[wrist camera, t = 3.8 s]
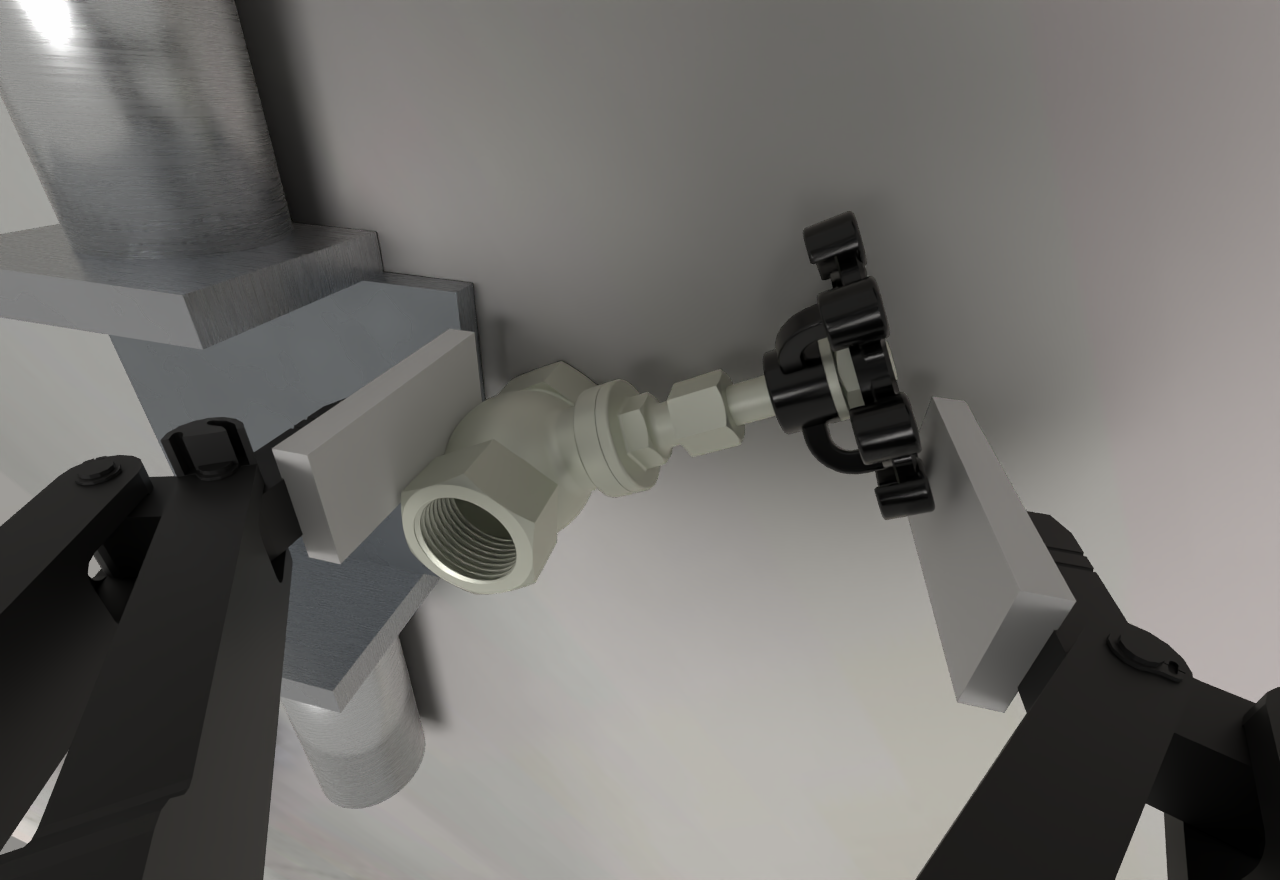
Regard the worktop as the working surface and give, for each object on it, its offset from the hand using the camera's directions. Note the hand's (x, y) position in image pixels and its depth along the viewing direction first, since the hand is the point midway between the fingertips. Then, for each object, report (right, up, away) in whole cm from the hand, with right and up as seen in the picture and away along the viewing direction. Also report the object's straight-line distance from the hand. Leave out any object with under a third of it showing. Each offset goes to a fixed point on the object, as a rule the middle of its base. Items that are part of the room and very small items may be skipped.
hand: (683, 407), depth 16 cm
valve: (0, +1, +2) cm, 2 cm away
